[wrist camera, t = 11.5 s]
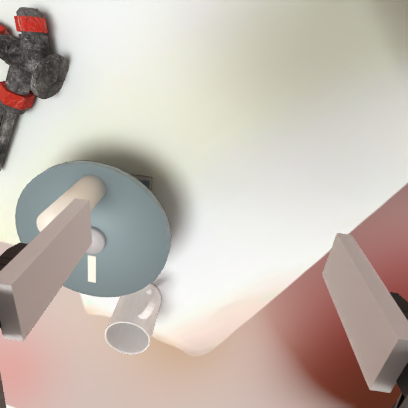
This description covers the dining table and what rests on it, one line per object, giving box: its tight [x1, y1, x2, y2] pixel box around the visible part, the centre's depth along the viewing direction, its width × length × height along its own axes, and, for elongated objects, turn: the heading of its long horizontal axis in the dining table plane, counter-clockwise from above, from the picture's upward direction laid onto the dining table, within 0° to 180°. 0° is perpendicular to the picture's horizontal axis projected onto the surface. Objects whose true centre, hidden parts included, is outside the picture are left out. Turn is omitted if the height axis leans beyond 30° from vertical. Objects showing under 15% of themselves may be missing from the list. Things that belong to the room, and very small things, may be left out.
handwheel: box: [15, 161, 171, 297], centre depth 41 cm, size 22×22×12 cm
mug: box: [105, 283, 161, 354], centre depth 57 cm, size 12×8×10 cm, turn 145°
